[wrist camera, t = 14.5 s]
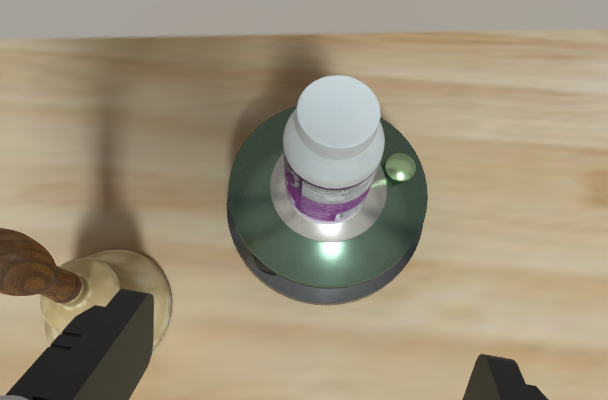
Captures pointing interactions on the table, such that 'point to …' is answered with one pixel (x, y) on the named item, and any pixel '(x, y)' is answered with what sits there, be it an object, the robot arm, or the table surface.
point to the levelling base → (324, 238)
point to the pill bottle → (332, 149)
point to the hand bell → (79, 281)
